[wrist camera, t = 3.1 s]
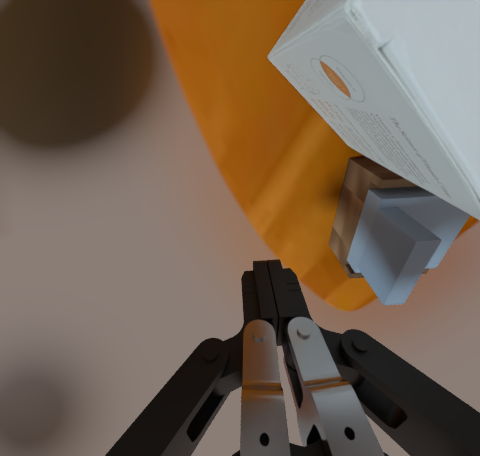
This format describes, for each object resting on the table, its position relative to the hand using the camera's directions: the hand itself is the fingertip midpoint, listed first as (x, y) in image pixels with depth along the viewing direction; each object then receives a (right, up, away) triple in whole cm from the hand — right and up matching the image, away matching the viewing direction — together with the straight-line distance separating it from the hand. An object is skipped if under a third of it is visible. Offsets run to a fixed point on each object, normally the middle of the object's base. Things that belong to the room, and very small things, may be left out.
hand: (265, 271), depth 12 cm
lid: (+10, +3, +3) cm, 11 cm away
